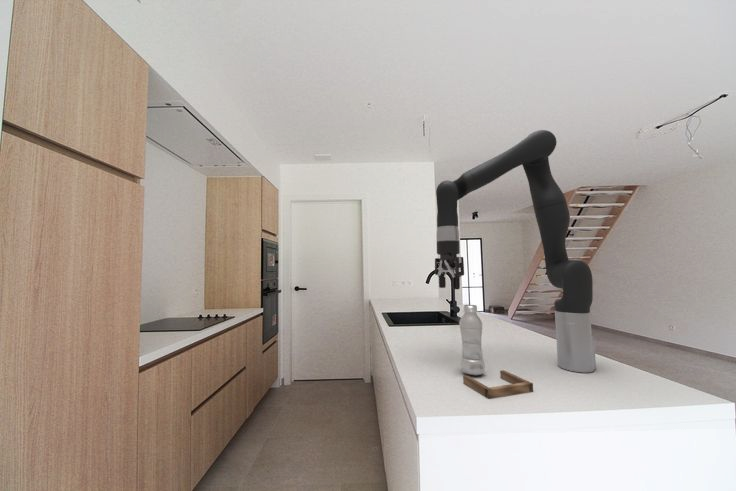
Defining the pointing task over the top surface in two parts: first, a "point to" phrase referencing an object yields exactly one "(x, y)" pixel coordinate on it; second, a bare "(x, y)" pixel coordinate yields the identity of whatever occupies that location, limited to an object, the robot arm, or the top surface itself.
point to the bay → (499, 391)
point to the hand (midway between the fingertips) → (448, 288)
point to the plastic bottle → (471, 342)
